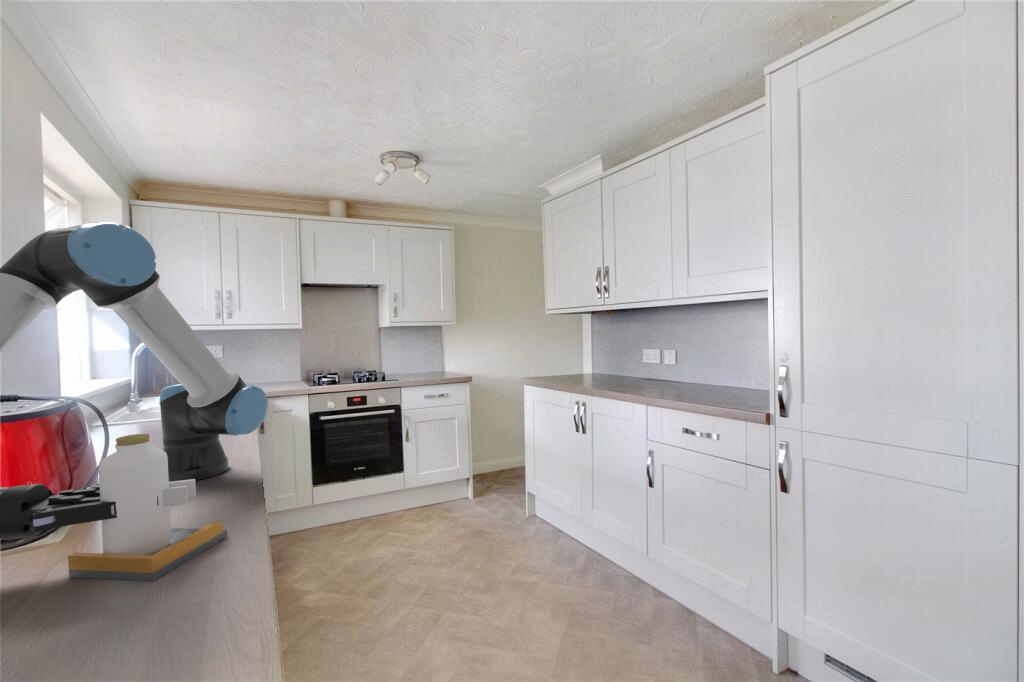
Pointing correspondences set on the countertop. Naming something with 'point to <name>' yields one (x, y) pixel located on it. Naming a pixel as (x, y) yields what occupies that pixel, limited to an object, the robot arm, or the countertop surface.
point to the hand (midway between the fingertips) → (190, 491)
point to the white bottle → (135, 497)
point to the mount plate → (146, 557)
